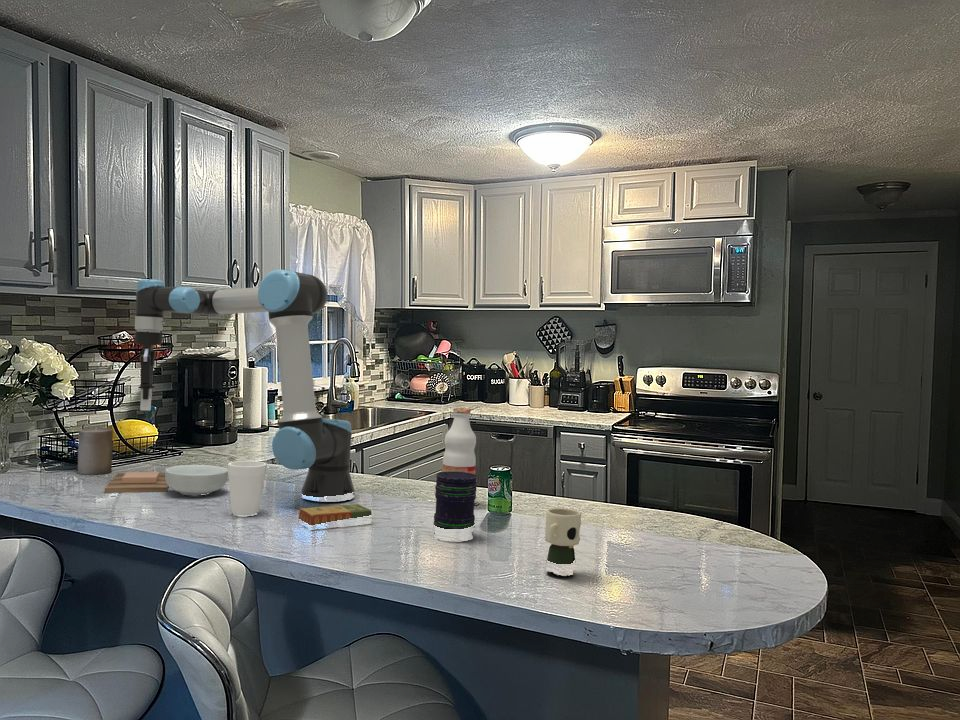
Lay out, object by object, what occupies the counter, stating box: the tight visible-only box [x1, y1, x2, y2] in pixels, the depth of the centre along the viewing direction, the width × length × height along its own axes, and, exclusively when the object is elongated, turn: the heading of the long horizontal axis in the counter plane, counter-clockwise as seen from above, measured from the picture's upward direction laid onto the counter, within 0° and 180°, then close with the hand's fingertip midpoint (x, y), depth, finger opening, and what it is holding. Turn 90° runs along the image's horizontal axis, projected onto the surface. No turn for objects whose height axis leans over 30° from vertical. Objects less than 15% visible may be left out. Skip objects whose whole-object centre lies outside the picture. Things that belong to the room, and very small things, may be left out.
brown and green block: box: [298, 503, 373, 525], centre depth 178 cm, size 8×16×4 cm, turn 124°
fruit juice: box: [442, 407, 477, 475], centre depth 205 cm, size 9×9×28 cm
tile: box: [122, 471, 160, 484], centre depth 212 cm, size 2×9×9 cm
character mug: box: [544, 507, 582, 564], centre depth 146 cm, size 11×7×13 cm, turn 148°
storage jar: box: [433, 471, 477, 529], centre depth 171 cm, size 10×10×15 cm
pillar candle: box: [77, 425, 114, 476], centre depth 227 cm, size 10×10×15 cm
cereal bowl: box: [164, 464, 229, 496], centre depth 204 cm, size 17×17×7 cm
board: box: [104, 472, 170, 494], centre depth 213 cm, size 24×16×1 cm, turn 19°
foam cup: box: [227, 460, 268, 515], centre depth 183 cm, size 10×9×13 cm
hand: (145, 410), depth 214 cm, fingers closed
